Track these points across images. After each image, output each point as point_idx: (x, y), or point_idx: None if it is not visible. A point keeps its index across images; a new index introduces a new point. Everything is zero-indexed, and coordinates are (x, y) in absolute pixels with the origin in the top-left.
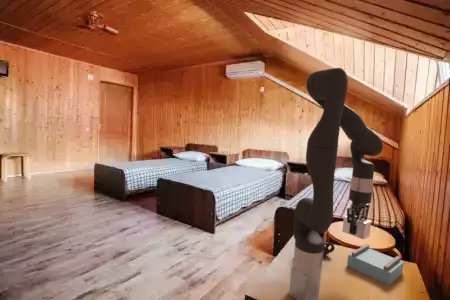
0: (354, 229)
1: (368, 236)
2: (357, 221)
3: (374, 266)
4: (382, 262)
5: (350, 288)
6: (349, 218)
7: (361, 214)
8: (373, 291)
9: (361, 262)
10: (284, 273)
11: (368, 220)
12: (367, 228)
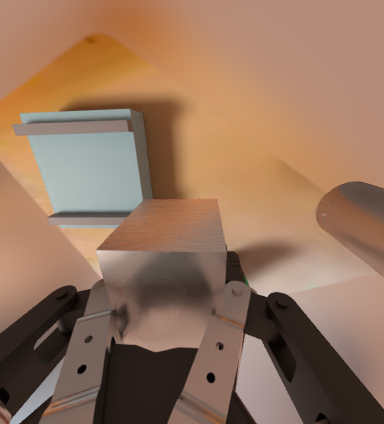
0: (228, 265)
1: (156, 200)
2: (225, 304)
3: (137, 158)
4: (94, 153)
5: (241, 164)
6: (284, 360)
7: (140, 358)
8: (206, 125)
9: (143, 191)
10: (300, 267)
11: (108, 269)
12: (173, 223)
